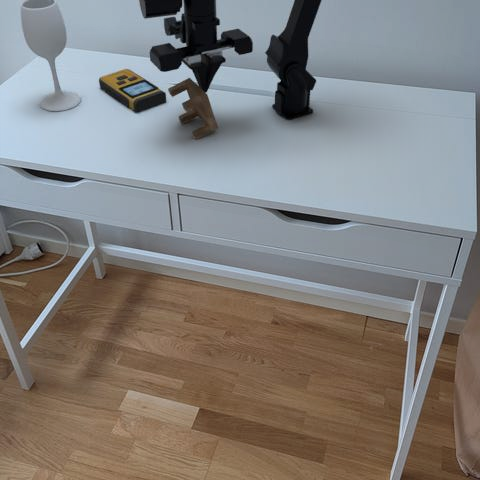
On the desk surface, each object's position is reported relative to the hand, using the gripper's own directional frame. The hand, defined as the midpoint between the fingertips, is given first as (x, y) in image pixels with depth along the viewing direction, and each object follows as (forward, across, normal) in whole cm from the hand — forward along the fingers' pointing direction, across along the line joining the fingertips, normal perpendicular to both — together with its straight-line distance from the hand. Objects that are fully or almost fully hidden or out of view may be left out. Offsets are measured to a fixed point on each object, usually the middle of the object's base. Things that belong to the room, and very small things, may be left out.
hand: (203, 91), depth 114 cm
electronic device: (+8, +8, -20) cm, 23 cm away
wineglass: (+8, +23, -24) cm, 34 cm away
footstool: (+7, +1, 0) cm, 7 cm away
